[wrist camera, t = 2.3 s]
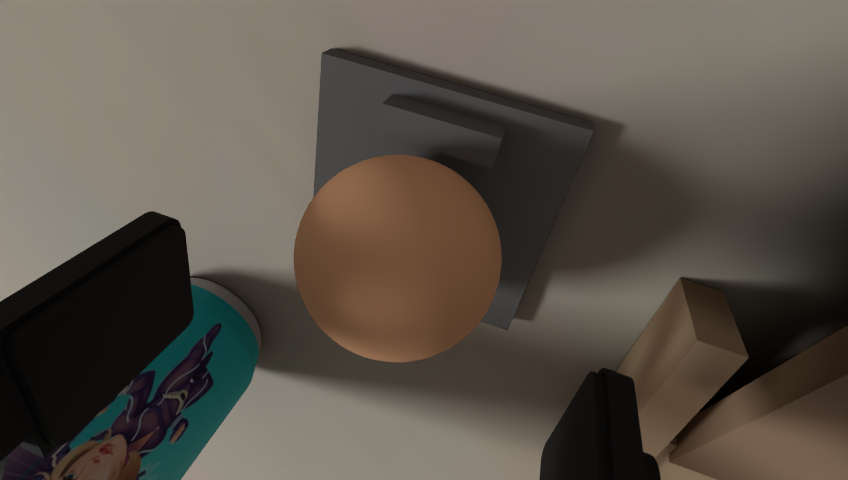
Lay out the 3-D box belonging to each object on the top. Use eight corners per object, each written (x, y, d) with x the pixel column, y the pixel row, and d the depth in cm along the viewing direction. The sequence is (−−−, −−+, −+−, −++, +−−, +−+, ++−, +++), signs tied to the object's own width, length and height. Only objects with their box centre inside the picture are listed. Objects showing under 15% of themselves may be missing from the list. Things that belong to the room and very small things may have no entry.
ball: (354, 101, 12) (244, 184, 8) (538, 156, 12) (516, 274, 8) (339, 248, 15) (252, 362, 11) (485, 298, 15) (449, 436, 11)
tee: (331, 48, 12) (306, 60, 11) (593, 122, 12) (594, 143, 10) (317, 252, 16) (298, 276, 15) (509, 317, 16) (504, 348, 15)
